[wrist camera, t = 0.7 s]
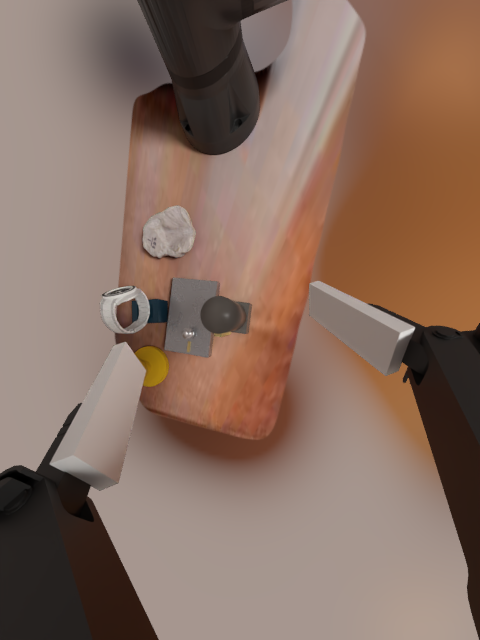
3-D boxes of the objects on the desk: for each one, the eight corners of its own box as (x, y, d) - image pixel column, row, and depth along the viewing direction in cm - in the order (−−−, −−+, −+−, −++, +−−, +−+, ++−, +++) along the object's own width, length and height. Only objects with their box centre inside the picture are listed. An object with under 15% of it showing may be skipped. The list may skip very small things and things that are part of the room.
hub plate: (177, 279, 36) (166, 274, 33) (220, 283, 35) (213, 278, 31) (168, 348, 37) (157, 351, 33) (211, 356, 35) (203, 360, 31)
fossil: (198, 252, 33) (137, 254, 31) (198, 262, 39) (148, 265, 37) (192, 201, 32) (130, 201, 30) (193, 220, 38) (142, 220, 36)
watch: (167, 291, 37) (122, 278, 26) (168, 331, 37) (123, 334, 26) (142, 293, 38) (89, 281, 27) (143, 331, 38) (91, 335, 27)
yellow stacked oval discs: (148, 392, 38) (127, 360, 39) (176, 370, 36) (154, 338, 37) (117, 409, 30) (93, 369, 31) (151, 382, 29) (124, 342, 30)
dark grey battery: (224, 301, 34) (201, 292, 24) (251, 304, 33) (240, 296, 23) (221, 330, 35) (196, 334, 24) (248, 334, 34) (235, 340, 23)
